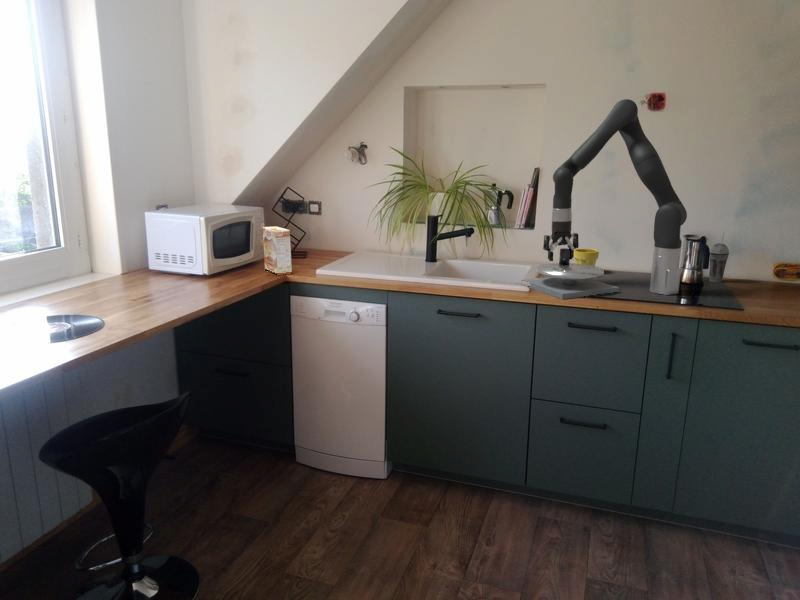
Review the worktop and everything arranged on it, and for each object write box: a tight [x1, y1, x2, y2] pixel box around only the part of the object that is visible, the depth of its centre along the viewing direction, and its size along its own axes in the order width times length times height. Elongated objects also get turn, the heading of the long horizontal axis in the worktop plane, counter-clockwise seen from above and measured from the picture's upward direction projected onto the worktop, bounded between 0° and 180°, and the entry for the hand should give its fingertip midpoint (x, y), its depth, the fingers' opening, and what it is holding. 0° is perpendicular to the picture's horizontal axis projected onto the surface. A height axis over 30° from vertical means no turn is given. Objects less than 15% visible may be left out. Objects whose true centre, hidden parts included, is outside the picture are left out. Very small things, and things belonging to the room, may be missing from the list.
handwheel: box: [535, 247, 605, 280], centre depth 232 cm, size 25×25×8 cm
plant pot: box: [573, 248, 600, 266], centre depth 264 cm, size 10×10×10 cm
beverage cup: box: [708, 231, 730, 283], centre depth 245 cm, size 7×7×20 cm
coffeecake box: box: [262, 225, 293, 273], centre depth 264 cm, size 15×7×20 cm, turn 33°
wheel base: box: [520, 276, 620, 300], centre depth 234 cm, size 26×26×6 cm
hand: (560, 260), depth 242 cm, fingers open, 8 cm apart
